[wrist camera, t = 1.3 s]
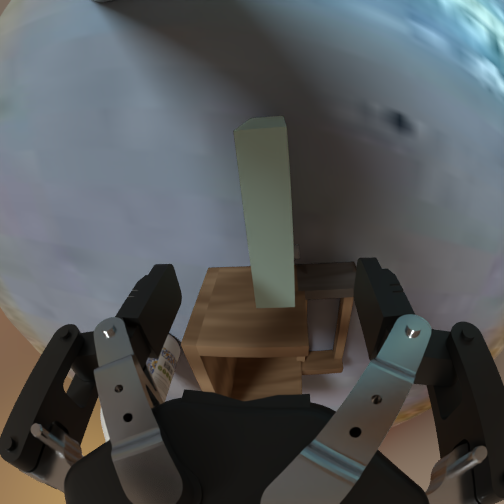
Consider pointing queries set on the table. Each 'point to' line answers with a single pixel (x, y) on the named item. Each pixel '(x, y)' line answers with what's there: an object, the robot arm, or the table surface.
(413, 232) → the table surface
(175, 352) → the bath foam
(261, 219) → the block
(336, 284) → the cabinet
